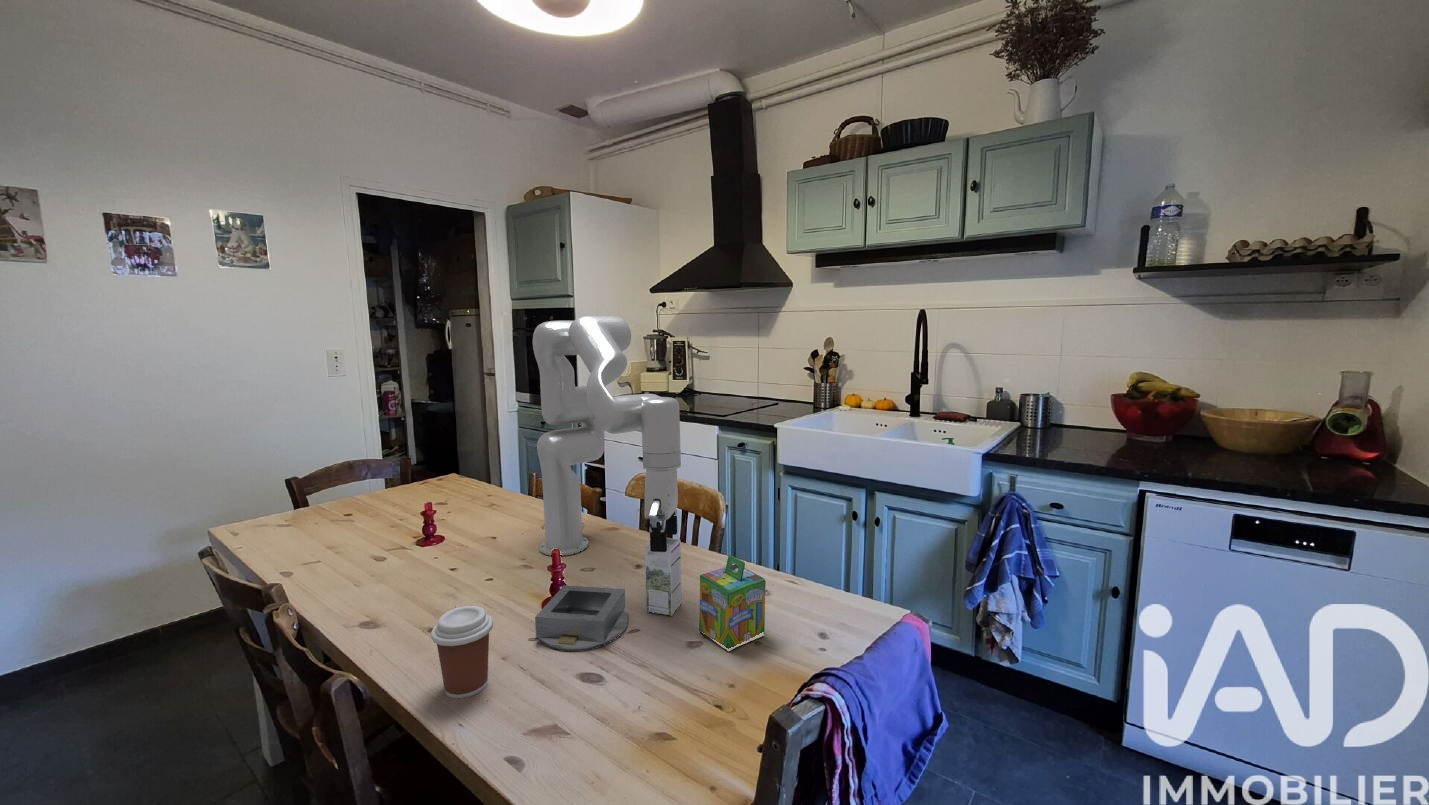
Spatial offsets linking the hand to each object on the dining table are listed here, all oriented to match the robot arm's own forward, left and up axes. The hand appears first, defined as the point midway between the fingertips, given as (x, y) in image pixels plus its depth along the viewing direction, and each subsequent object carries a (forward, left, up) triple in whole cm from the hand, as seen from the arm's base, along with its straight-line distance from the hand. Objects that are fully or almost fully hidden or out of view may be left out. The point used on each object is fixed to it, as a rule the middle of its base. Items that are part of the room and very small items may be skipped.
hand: (664, 542), depth 113 cm
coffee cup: (+29, -26, -15) cm, 42 cm away
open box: (+9, -14, -14) cm, 22 cm away
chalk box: (+8, +15, -15) cm, 22 cm away
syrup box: (0, 0, -15) cm, 15 cm away
